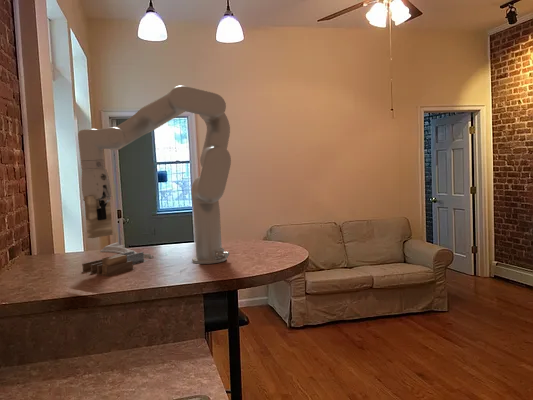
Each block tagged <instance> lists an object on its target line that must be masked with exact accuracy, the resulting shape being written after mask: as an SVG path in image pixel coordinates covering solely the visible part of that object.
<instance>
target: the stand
mask: <svg viewBox="0 0 533 400" xmlns="http://www.w3.org/2000/svg"><path fill="white" fill-rule="evenodd" d="M134 251H135V250H133V251H131V252H126V253H122V254H121V255H127V262H128V261H133V266H134V265H137V264H140V263H141V264H142V263H145V262H149V261H150V260H149V259H145V258H144V254H145V253H144V251H140V252H137V253H135V254H134ZM115 255H116V254H113V255H112V256H115ZM117 255H119V253H117Z"/></svg>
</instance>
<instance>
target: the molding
mask: <svg viewBox="0 0 533 400" xmlns="http://www.w3.org/2000/svg"><path fill="white" fill-rule="evenodd" d="M131 251H134V254H135V253H138V252H137V251H135V250H132V249H128V248H126V247H125V244H120V243H119V242H114V243H111V244H109V245H105V246H103V248H102V249H100V250H99V252H100V253H114V254H122V253H126V252H131ZM143 254H144V259H146V260H149V259H150V260H151V259H153V258H154V255H151V253H143Z"/></svg>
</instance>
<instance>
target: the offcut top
mask: <svg viewBox="0 0 533 400" xmlns="http://www.w3.org/2000/svg"><path fill="white" fill-rule="evenodd" d="M118 254H119V253H118ZM118 254H114V255H115V256H113V255H112V256H107V257H102V258H101V259H102V264H103V266H107V267H108V266H112V265H116V264H120V263H124V262H127V255H121V254H119V255H118Z"/></svg>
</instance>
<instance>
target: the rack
mask: <svg viewBox="0 0 533 400" xmlns="http://www.w3.org/2000/svg"><path fill="white" fill-rule="evenodd" d="M102 266H103V264H102V258H101V259H95V260H91V261H88V262H84V263H82V266H81V267H82V271H81V273H84V274H90V275H98V276H104V277H112V276H115V275H118V274H123V273H126V272H130V271H133V270H135V268H134V265H133V261H128V262H124V263H120V264H116V265H112V266H108V267H106V268H107V274H102Z"/></svg>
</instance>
